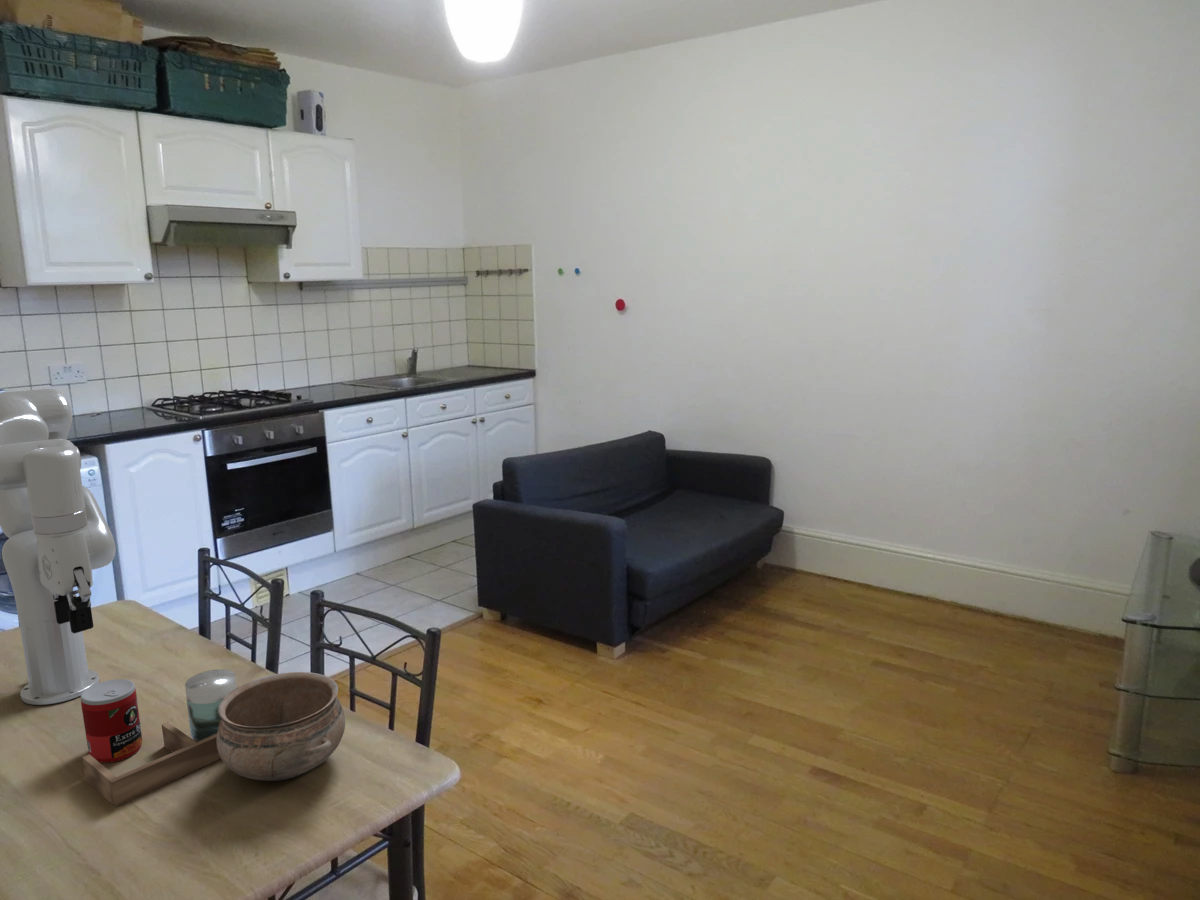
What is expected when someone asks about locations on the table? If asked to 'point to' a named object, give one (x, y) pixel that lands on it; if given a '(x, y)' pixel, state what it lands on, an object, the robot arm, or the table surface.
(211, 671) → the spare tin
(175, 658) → the table surface
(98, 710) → the canned food
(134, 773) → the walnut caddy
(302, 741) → the cooking pot
